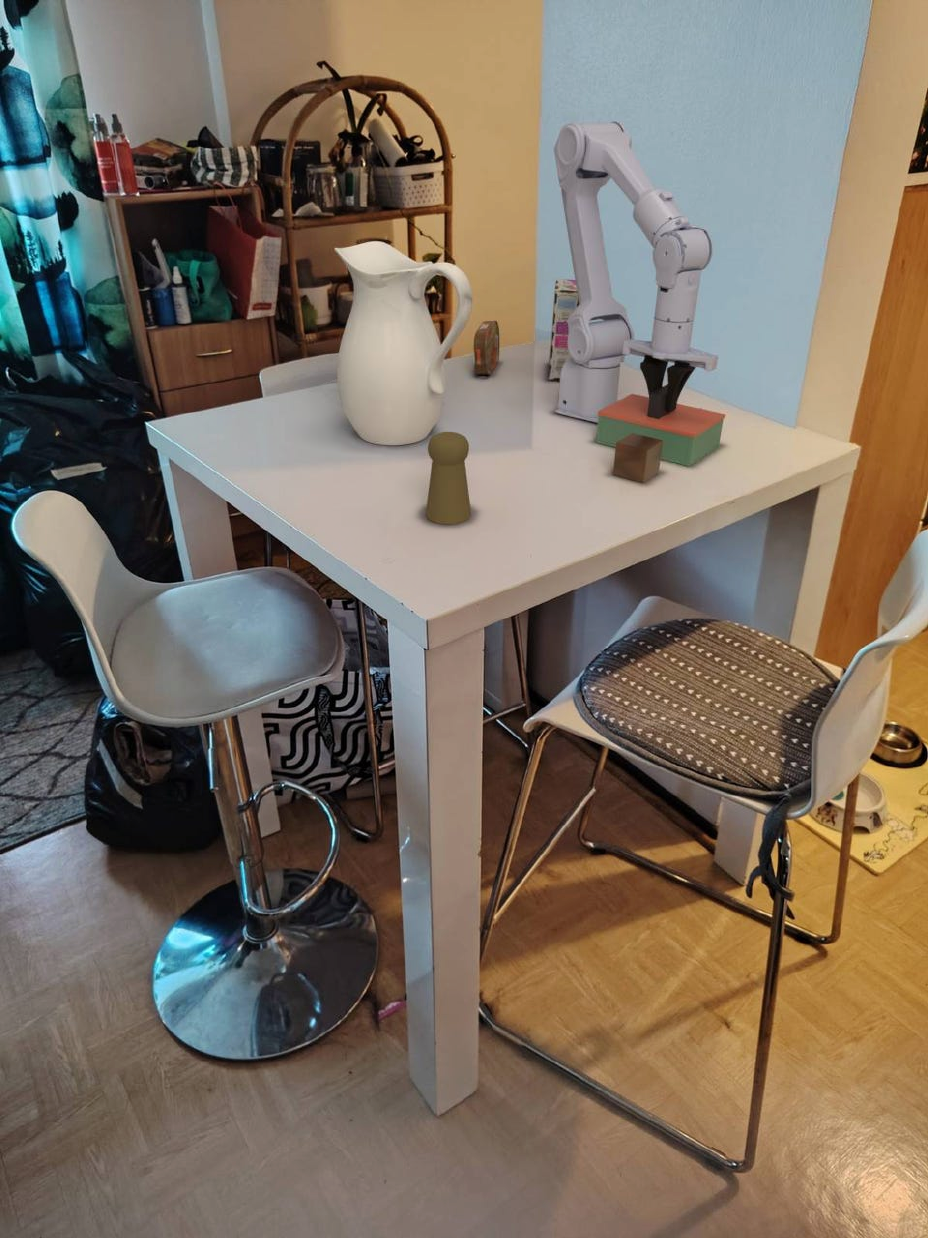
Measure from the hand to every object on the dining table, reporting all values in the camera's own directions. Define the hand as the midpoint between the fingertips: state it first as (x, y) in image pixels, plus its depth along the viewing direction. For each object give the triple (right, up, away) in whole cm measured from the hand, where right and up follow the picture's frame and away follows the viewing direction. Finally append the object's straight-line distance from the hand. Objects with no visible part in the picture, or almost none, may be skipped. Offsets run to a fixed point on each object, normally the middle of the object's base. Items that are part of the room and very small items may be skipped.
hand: (662, 408), depth 138 cm
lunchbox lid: (0, -1, +1) cm, 1 cm away
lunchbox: (0, -5, +3) cm, 6 cm away
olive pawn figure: (-33, -19, -20) cm, 43 cm away
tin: (-26, +16, +37) cm, 48 cm away
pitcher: (-39, -4, +4) cm, 40 cm away
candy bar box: (-12, +15, +35) cm, 40 cm away
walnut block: (-5, -11, -7) cm, 15 cm away
